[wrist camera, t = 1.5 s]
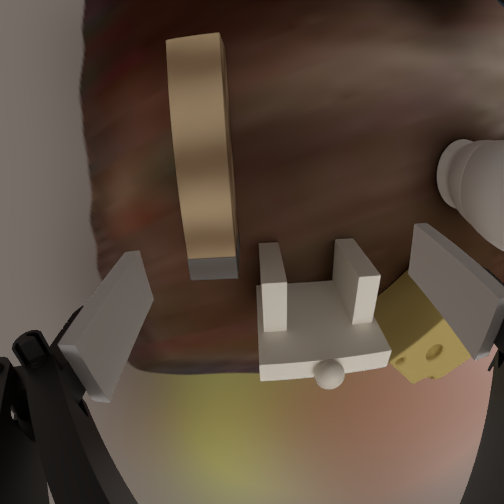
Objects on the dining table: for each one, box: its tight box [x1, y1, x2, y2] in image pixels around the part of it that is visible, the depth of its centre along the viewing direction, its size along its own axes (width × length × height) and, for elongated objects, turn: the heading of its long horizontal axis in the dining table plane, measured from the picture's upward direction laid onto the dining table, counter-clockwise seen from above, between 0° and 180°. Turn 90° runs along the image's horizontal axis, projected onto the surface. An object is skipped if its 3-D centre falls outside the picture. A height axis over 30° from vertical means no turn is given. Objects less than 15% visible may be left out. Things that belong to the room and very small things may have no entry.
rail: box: [166, 33, 240, 280], centre depth 24 cm, size 20×4×6 cm, turn 3°
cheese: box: [373, 269, 471, 384], centre depth 30 cm, size 10×11×10 cm
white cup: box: [437, 139, 504, 251], centre depth 21 cm, size 11×10×15 cm
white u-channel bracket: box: [256, 238, 392, 389], centre depth 26 cm, size 7×11×14 cm, turn 93°
